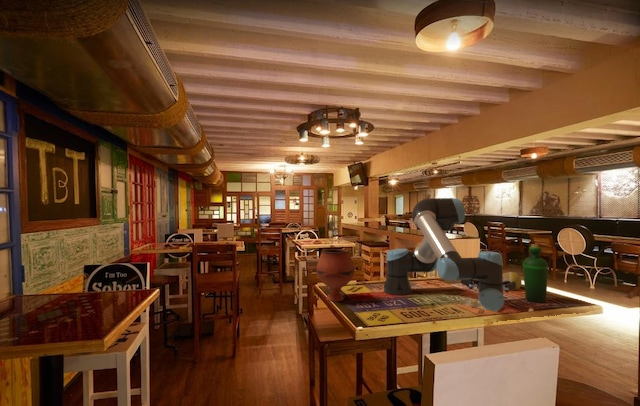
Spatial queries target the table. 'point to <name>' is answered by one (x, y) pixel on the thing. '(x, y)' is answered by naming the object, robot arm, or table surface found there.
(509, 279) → the fruit
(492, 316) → the table surface
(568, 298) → the table surface
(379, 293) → the table surface
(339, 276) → the goblet
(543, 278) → the bottle
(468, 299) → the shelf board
